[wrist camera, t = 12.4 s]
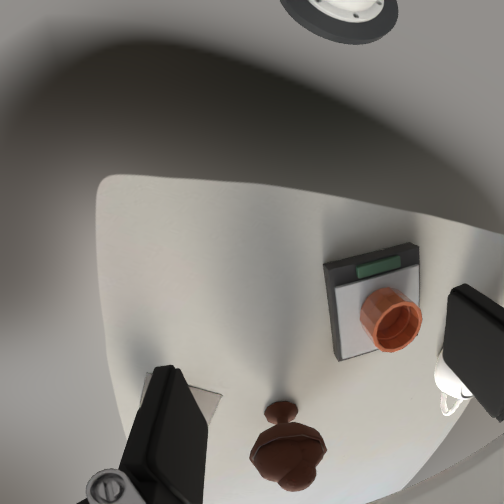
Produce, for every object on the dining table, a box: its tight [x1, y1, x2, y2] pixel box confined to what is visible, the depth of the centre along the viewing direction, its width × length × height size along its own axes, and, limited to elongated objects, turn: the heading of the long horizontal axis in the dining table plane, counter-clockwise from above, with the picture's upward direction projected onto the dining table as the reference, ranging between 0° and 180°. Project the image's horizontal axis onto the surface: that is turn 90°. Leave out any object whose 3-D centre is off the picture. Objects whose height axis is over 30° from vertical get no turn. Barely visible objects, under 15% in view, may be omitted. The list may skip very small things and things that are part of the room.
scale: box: [323, 243, 420, 362], centre depth 37 cm, size 14×13×3 cm
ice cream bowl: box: [249, 401, 327, 492], centre depth 37 cm, size 11×11×15 cm
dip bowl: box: [360, 287, 422, 352], centre depth 34 cm, size 7×7×5 cm
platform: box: [140, 373, 222, 426], centre depth 40 cm, size 12×18×7 cm, turn 160°
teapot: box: [434, 349, 474, 416], centre depth 38 cm, size 22×14×11 cm, turn 163°
